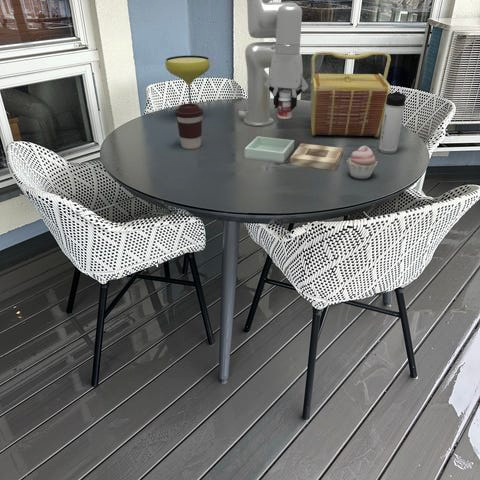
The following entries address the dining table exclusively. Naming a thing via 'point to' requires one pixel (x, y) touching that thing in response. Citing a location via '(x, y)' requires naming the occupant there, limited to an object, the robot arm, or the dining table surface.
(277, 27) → the robot arm
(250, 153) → the tray
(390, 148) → the travel mug
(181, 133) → the coffee cup
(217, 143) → the dining table surface
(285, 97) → the pill bottle
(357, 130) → the picnic basket
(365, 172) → the cupcake
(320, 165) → the socket block
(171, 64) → the cocktail glass
